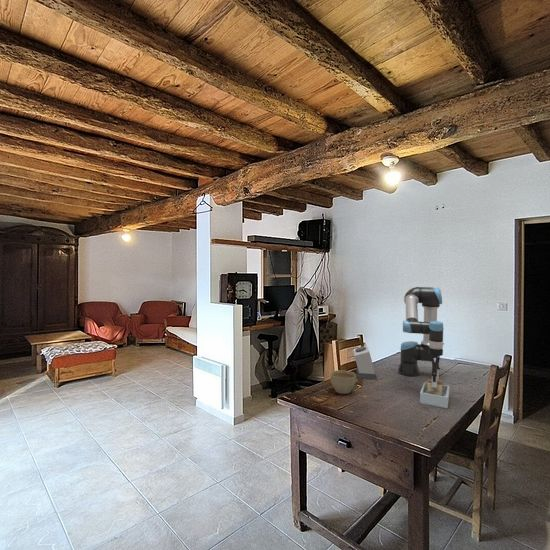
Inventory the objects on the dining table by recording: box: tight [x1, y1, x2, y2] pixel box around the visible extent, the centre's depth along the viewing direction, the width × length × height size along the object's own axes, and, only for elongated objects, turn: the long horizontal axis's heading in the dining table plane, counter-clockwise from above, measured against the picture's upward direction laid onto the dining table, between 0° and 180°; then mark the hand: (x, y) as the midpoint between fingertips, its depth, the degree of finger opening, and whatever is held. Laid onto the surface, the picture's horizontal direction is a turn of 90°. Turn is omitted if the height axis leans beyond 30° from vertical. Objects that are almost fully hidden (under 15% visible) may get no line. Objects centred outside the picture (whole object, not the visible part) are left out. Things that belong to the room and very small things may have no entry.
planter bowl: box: [329, 369, 357, 395], centre depth 208 cm, size 16×16×11 cm
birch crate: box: [425, 378, 445, 396], centre depth 196 cm, size 9×9×9 cm
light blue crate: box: [419, 381, 450, 409], centre depth 196 cm, size 14×22×6 cm, turn 150°
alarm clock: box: [353, 345, 378, 381], centre depth 243 cm, size 20×16×20 cm
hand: (435, 383), depth 197 cm, fingers open, 13 cm apart
